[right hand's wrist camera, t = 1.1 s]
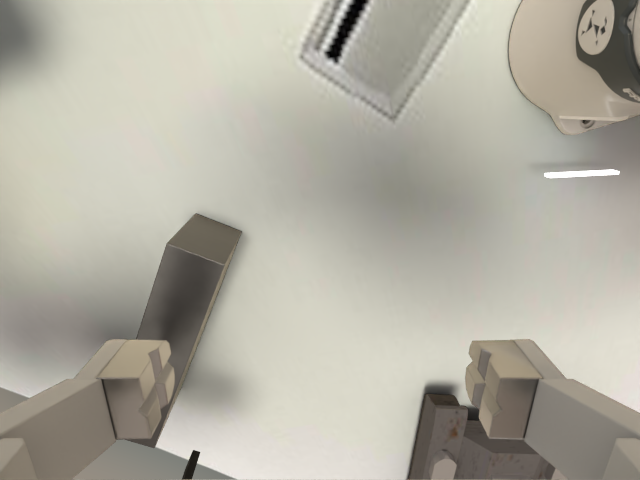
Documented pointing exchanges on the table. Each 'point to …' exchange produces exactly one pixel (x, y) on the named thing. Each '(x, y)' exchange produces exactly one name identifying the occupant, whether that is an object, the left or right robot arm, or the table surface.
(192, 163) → the table surface
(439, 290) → the table surface
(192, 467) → the left robot arm
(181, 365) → the bar
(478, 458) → the toy
